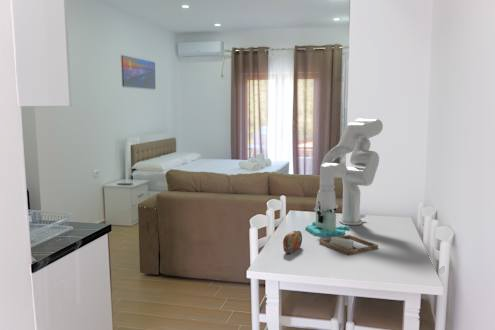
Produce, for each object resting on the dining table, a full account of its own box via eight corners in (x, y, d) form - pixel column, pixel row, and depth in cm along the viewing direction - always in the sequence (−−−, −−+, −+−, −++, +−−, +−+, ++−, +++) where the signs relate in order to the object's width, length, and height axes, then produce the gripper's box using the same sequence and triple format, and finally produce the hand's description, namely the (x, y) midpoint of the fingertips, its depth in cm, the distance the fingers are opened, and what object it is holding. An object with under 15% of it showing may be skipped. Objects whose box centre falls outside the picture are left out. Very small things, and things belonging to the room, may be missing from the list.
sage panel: (320, 225, 233) (320, 208, 232) (335, 230, 223) (335, 213, 222) (315, 225, 231) (316, 209, 230) (331, 231, 221) (331, 214, 220)
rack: (348, 237, 216) (348, 234, 216) (377, 248, 200) (378, 244, 200) (319, 243, 206) (319, 240, 206) (347, 255, 190) (347, 251, 190)
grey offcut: (334, 241, 205) (334, 236, 204) (353, 246, 198) (353, 240, 198) (331, 243, 202) (331, 237, 202) (350, 247, 196) (350, 242, 195)
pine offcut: (334, 244, 207) (334, 240, 206) (352, 251, 196) (352, 247, 196) (329, 245, 205) (329, 241, 205) (347, 252, 195) (347, 248, 195)
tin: (288, 255, 189) (288, 237, 188) (281, 254, 191) (281, 236, 189) (302, 246, 202) (302, 229, 200) (296, 245, 203) (296, 228, 202)
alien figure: (313, 225, 241) (300, 234, 223) (313, 221, 241) (301, 230, 223) (349, 230, 232) (338, 240, 214) (349, 226, 231) (339, 235, 214)
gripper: (334, 185, 232) (333, 218, 234) (309, 188, 223) (308, 222, 225) (344, 187, 226) (343, 221, 228) (318, 190, 217) (317, 225, 219)
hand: (325, 221), depth 227 cm, fingers open, 6 cm apart
